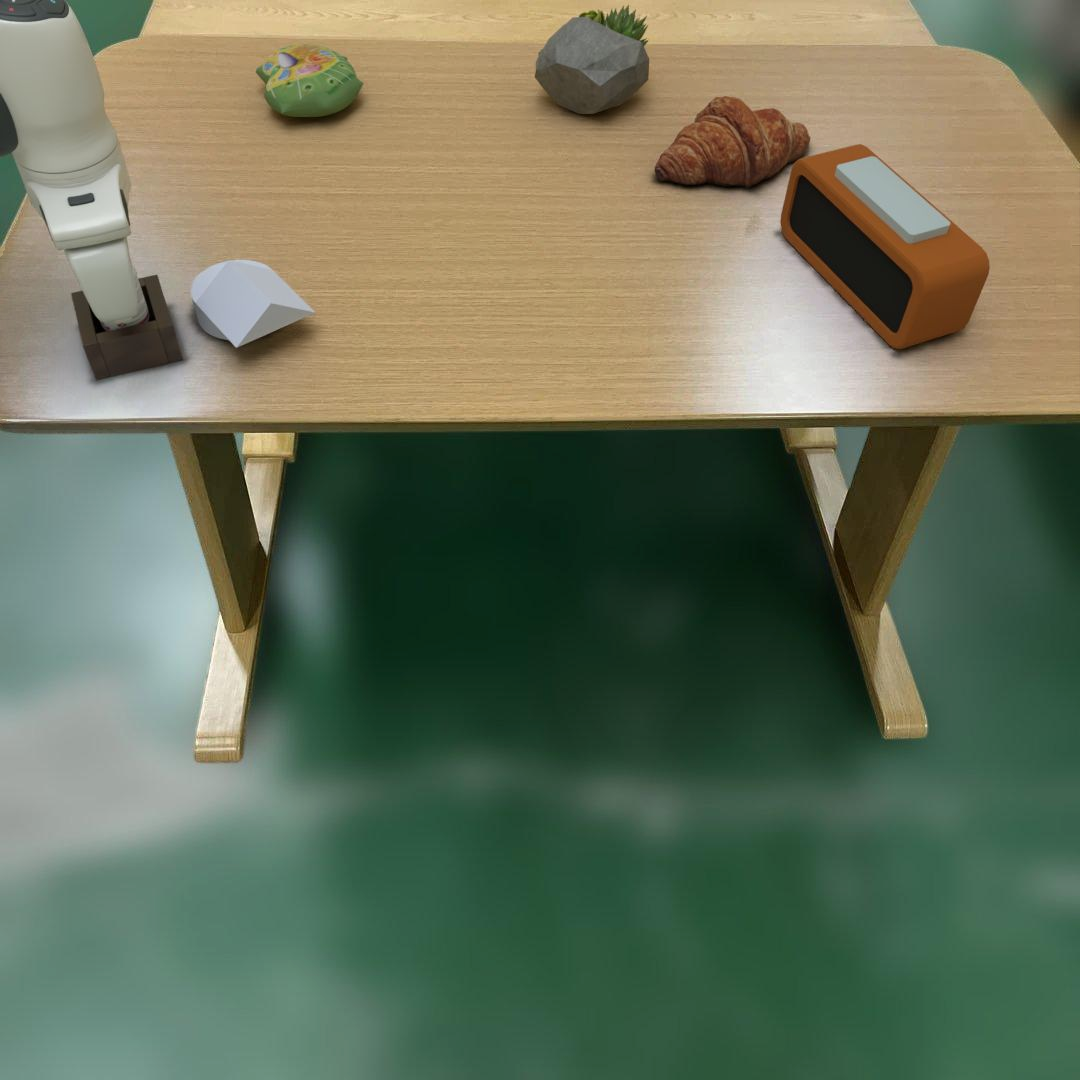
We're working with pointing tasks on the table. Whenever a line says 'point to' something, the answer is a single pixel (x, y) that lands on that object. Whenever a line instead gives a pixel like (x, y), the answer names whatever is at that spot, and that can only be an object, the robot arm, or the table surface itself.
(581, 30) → the potted plant
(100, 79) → the robot arm
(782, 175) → the table surface
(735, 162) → the pastry
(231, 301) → the wedge on round base
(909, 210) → the alarm clock
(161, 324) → the socket
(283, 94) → the educational model
